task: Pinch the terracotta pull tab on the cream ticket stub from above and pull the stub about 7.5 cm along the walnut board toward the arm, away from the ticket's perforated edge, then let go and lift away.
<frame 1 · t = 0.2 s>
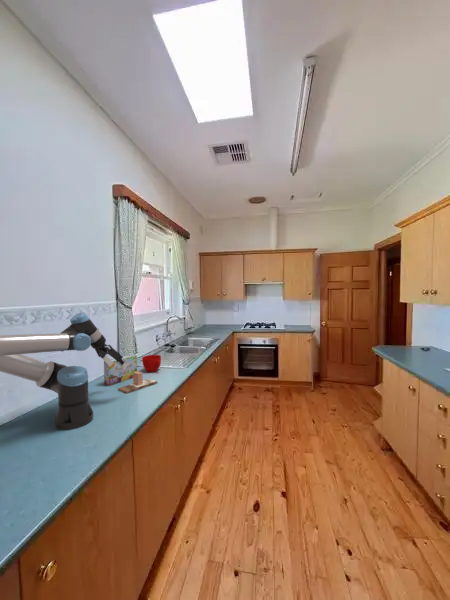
hand: (118, 366, 151), 16 cm above the countertop, tool tilted 35°, fingers open, 13 cm apart
stub: (137, 378, 163), point 5 cm above the countertop, slide at 0.0 cm
ceramic cup: (153, 371, 193), on the countertop
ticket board: (138, 386, 163), on the countertop
snack box: (121, 380, 175), on the countertop
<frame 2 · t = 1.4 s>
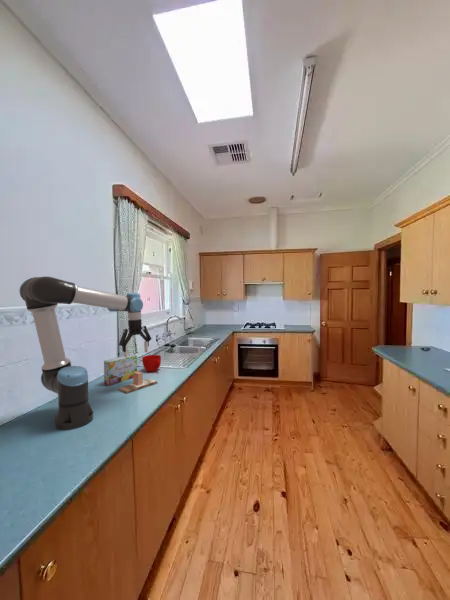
hand: (136, 354, 162), 20 cm above the countertop, tool pointing down, fingers open, 13 cm apart
nothing on the countertop moved.
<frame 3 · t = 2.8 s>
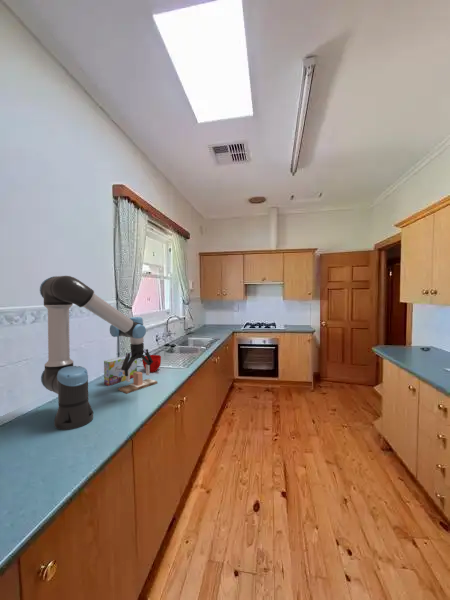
hand: (138, 378, 163), 5 cm above the countertop, tool pointing down, fingers open, 13 cm apart
nothing on the countertop moved.
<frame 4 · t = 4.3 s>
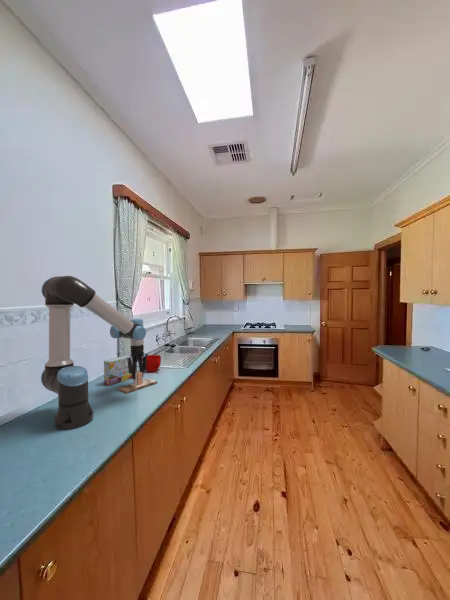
hand: (138, 383, 163), 2 cm above the countertop, tool pointing down, fingers closed on stub, 3 cm apart
stub: (137, 378, 163), point 5 cm above the countertop, slide at 0.0 cm, touching gripper
everything else where it was.
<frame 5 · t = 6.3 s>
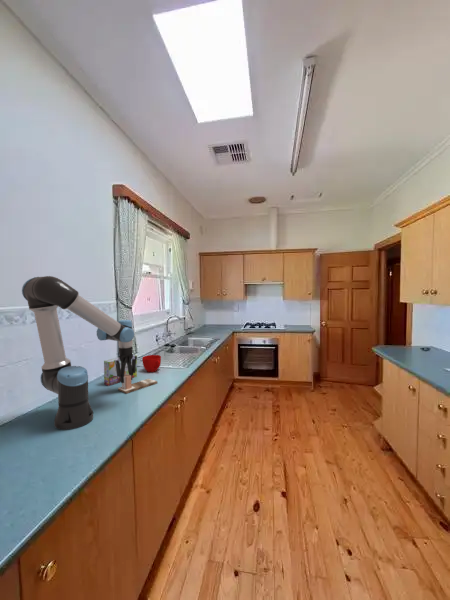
hand: (126, 387, 157), 2 cm above the countertop, tool pointing down, fingers closed on stub, 3 cm apart
stub: (126, 382, 157), point 5 cm above the countertop, slide at 7.4 cm, touching gripper
everything else where it was.
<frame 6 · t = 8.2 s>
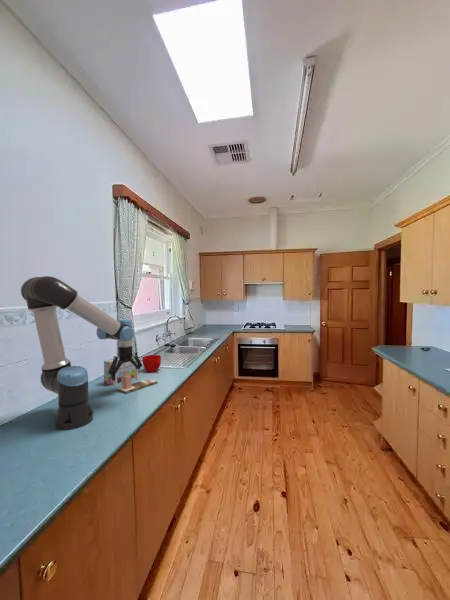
hand: (126, 382, 157), 5 cm above the countertop, tool pointing down, fingers open, 13 cm apart
stub: (126, 382, 157), point 5 cm above the countertop, slide at 7.5 cm
everything else where it was.
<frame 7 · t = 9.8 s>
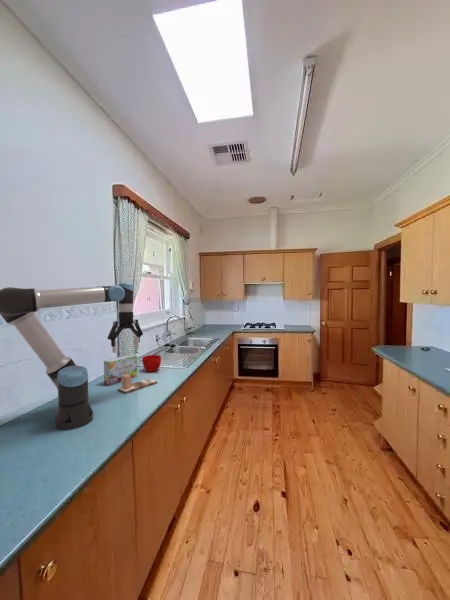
hand: (126, 350, 148), 25 cm above the countertop, tool pointing down, fingers open, 13 cm apart
nothing on the countertop moved.
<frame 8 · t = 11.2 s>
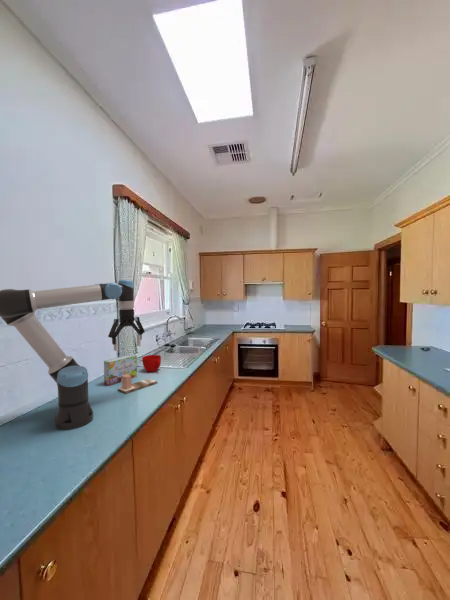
hand: (127, 348, 146), 27 cm above the countertop, tool pointing down, fingers open, 13 cm apart
nothing on the countertop moved.
at the end: stub slide at 7.5 cm; the gripper is holding nothing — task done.
